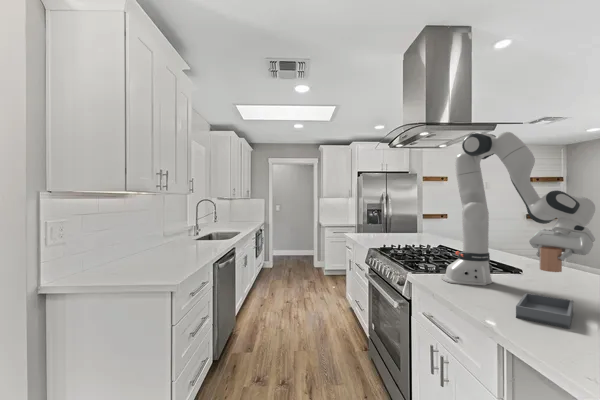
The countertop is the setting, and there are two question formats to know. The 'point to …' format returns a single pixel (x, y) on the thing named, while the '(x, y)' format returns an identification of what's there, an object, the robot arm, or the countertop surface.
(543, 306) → the tray
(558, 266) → the cup
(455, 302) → the countertop surface
